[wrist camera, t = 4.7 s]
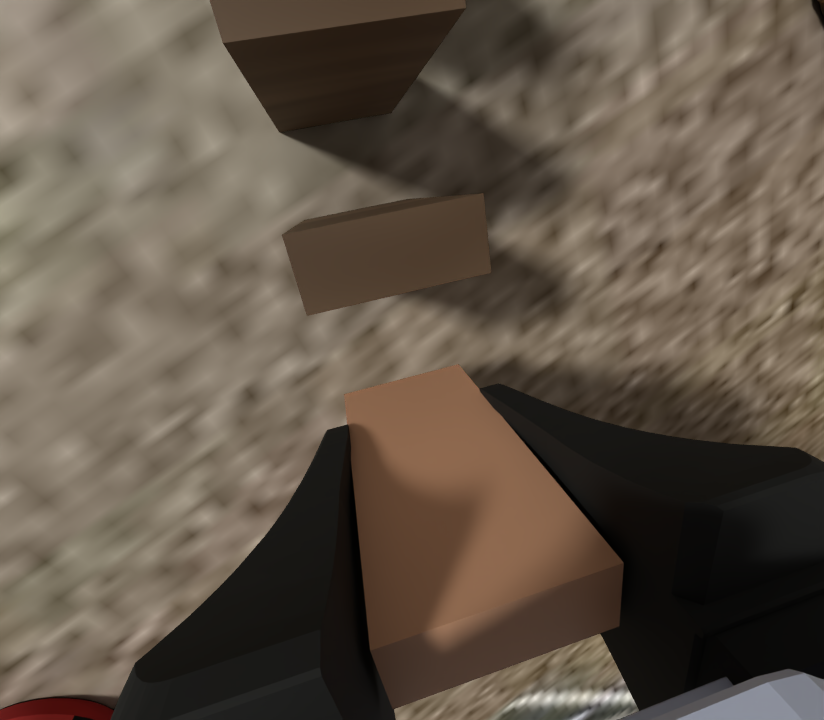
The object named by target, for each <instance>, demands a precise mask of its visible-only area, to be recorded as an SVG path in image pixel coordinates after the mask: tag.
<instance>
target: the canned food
mask: <svg viewBox="0 0 824 720" xmlns="http://www.w3.org/2000/svg"><path fill="white" fill-rule="evenodd" d="M113 712H114V710H112V709H110V708H109V707H107V706H105V705H102V704H99V703H96V702H92V701H87V700H82V699H73V698H47V699H38V700H32V701H27V702H23V703H18V704H15V705H12V706H10V707H7V708H4V709H1V710H0V720H110V719H111V717H112V714H113Z"/></svg>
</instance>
